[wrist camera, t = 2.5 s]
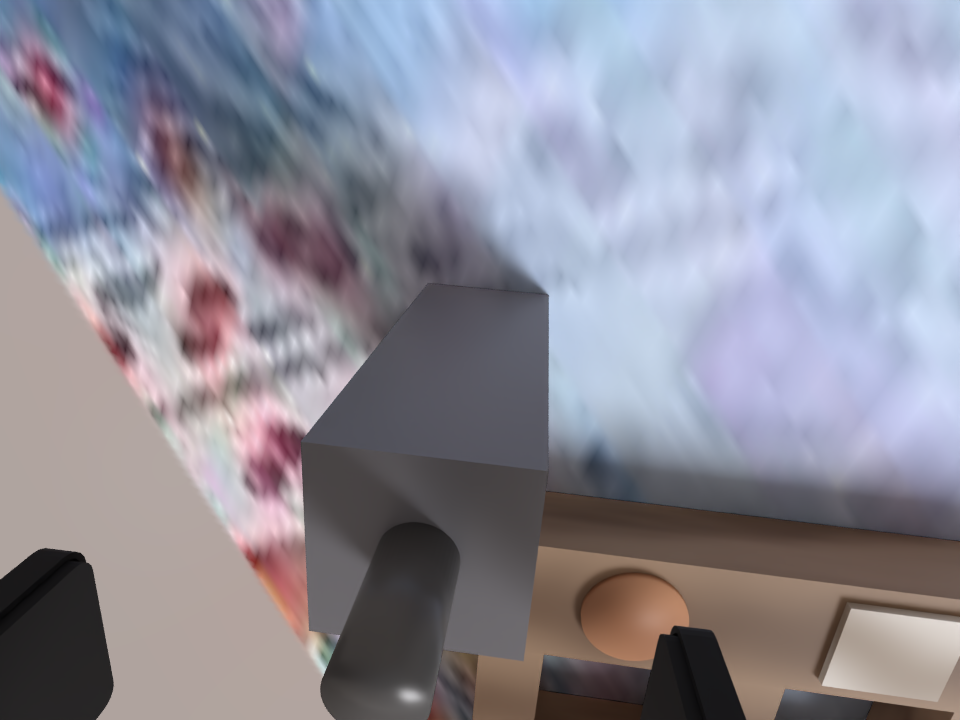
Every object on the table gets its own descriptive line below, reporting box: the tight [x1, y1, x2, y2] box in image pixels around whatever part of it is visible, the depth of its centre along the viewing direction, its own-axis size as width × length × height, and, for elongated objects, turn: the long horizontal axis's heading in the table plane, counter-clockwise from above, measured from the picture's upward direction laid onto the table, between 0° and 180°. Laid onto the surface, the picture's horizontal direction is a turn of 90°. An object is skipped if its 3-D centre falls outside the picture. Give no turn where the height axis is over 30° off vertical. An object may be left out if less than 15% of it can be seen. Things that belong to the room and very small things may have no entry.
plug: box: [301, 283, 549, 720], centre depth 15 cm, size 4×4×15 cm
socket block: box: [472, 491, 960, 720], centre depth 25 cm, size 16×20×4 cm
